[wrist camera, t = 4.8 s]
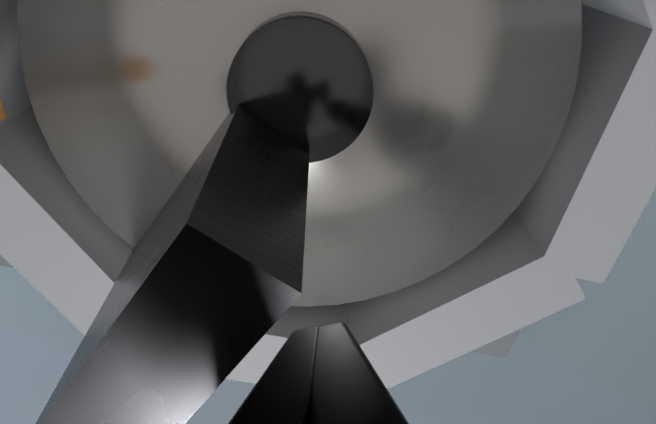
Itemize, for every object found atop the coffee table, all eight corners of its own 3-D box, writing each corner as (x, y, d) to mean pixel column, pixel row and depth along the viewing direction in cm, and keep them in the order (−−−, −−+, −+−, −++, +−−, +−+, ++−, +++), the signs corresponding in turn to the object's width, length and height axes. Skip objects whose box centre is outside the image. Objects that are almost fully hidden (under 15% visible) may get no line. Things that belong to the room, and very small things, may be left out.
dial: (345, 310, 13) (360, 596, 7) (-3, 96, 10) (-340, 289, 5) (634, 6, 10) (1001, 120, 4) (238, -381, 8) (34, -1078, 2)
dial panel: (493, 325, 15) (548, 459, 11) (-6, 231, 13) (-128, 350, 10) (754, -242, 9) (1022, -336, 6) (-35, -495, 8) (-326, -826, 4)
